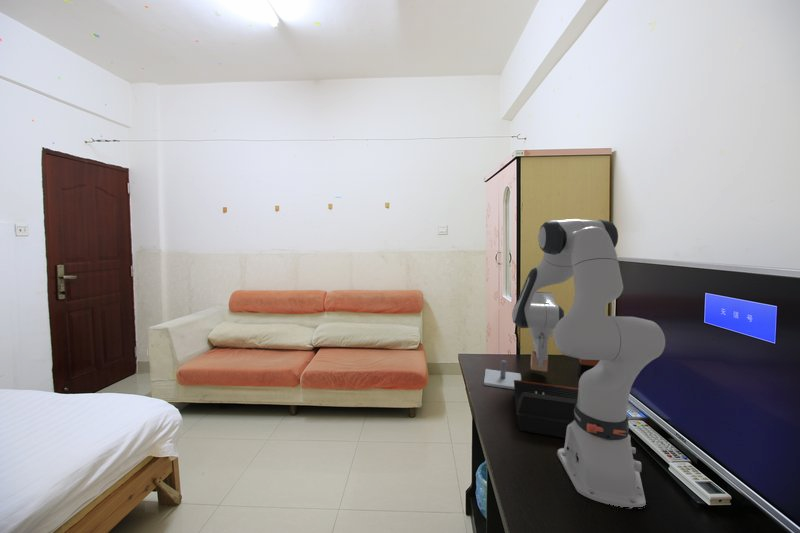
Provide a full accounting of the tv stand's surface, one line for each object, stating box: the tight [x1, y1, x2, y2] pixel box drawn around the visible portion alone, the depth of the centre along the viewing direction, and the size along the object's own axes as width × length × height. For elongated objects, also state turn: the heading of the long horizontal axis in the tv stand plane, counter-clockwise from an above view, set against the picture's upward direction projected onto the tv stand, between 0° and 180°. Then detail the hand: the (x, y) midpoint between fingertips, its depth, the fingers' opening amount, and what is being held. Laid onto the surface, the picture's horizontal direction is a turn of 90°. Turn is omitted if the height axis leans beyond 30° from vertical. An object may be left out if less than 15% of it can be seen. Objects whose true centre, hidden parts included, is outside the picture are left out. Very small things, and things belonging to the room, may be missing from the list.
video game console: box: [513, 380, 578, 439], centre depth 112 cm, size 28×25×10 cm
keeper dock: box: [483, 359, 522, 391], centre depth 140 cm, size 14×14×8 cm
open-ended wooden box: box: [530, 350, 549, 372], centre depth 145 cm, size 6×6×6 cm
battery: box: [577, 359, 600, 377], centre depth 145 cm, size 4×7×10 cm, turn 75°
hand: (539, 362), depth 145 cm, fingers closed on open-ended wooden box, 6 cm apart
